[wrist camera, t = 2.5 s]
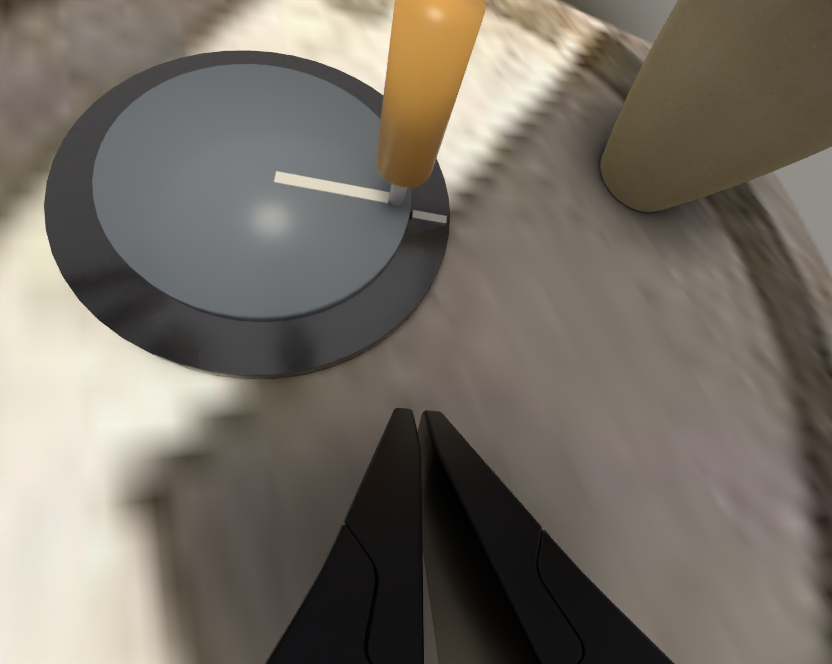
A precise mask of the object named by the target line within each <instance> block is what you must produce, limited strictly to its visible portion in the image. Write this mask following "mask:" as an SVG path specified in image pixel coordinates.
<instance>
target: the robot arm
mask: <svg viewBox="0 0 832 664" xmlns="http://www.w3.org/2000/svg"><path fill="white" fill-rule="evenodd" d="M422 547H423V555H424V562H425V569H426V576H427V583H428V590H429V597H430V604H431V611H432V618H433V625H434V632H435V639H436V646H437V654H438V661H439V664H674V663H673V662H672V661H671V660H670V659H669V658H668V657H667V656H666V655H665V654H664V653H663V652H662V651H661V650H660V649H659V648H658V647H657V646H656V645H655V644H654V643H653V642H652V641H651V640H650V639H649V638H648V637H647V636H646V635H645V634H644V633H643V632H642V631H641V630H640V629H639V628H638V627H637V626H636V625H635V624H634V623H633V622H632V621H631V620H630V619H629V618H628V617H627V616H626V615H625V614H624V613H623V612H622V611H621V610H620V609H618V608H617V607H616V606H615V605H614V604H613V603H612V602H611V601H610V600H609V599H608V598H607V597H606V595H605V594H604V593H603V592H602V591H601V590H600V589H599V588H598V587H597V586H596V585H595V584H594V583H593V582H592V581H591V580H590V579H589V578H588V577H587V576H586V575H585V574H584V573H583V572H582V571H581V570H580V569H579V568H578V567H577V565H576V564H575V563H574V562H573V561H572V560H571V559H570V558H569V557H568V556H567V554H566V553H565V552H564V551H563V550H562V549H561V548H560V547H559V546H558V545H557V543H556V542H555V541H554V540H553V539H552V538H551V537H550V535H549V534H548V533H547V532H546V531H545V530H542V527H541V525H540V524H539V523H538V522H537V521H536V520H535V519H534V517H533V516H532V515H531V514H530V513H529V512H528V511H527V509H526V508H525V507H524V506H523V505H522V504H521V503H520V501H519V500H518V499H517V498H516V497H515V496H514V495H513V493H512V492H511V491H510V490H509V489H508V488H507V487H506V485H505V484H504V483H503V482H502V481H501V480H500V479H499V478H498V476H497V475H496V474H495V473H494V472H493V471H492V470H491V468H490V467H489V466H488V465H487V464H486V463H485V462H484V460H483V459H482V458H481V457H480V456H479V455H478V454H477V452H476V451H475V450H474V449H473V448H472V447H471V446H470V444H469V443H468V442H467V441H466V440H465V439H464V438H463V436H462V435H461V434H460V433H459V432H458V431H457V430H456V428H455V427H454V426H453V425H452V424H451V423H450V422H449V421H448V419H447V418H446V417H445V416H444V415H443V414H442V413H441V412H439V411H428V410H426V411H424V412H423V413H422V416H421V420H420V424H419V428H418V432H417V428H416V424H415V419H414V415H413V411H412V410H411V409H404V408H395V409H394V411H393V413H392V416H391V418H390V420H389V422H388V424H387V427H386V429H385V431H384V433H383V435H382V438H381V440H380V442H379V444H378V446H377V449H376V451H375V453H374V455H373V457H372V460H371V462H370V464H369V466H368V468H367V471H366V473H365V475H364V477H363V479H362V482H361V484H360V486H359V488H358V490H357V493H356V495H355V497H354V499H353V501H352V504H351V506H350V508H349V510H348V512H347V515H346V517H345V519H344V521H343V525H342V526H341V527H340V529H339V532H338V534H337V536H336V538H335V541H334V543H333V545H332V547H331V549H330V551H329V553H328V555H327V557H326V559H325V561H324V563H323V565H322V567H321V569H320V571H319V573H318V575H317V576H316V578H315V580H314V582H313V583H312V585H311V587H310V589H309V590H308V592H307V594H306V596H305V597H304V599H303V601H302V603H301V604H300V606H299V608H298V610H297V611H296V613H295V614H294V616H293V618H292V619H291V621H290V623H289V624H288V626H287V628H286V629H285V631H284V632H283V634H282V636H281V637H280V639H279V641H278V642H277V644H276V645H275V647H274V649H273V650H272V652H271V654H270V655H269V657H268V659H267V660H266V662H265V663H264V664H424V636H423V560H422Z"/></svg>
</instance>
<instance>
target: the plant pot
mask: <svg viewBox="0 0 832 664" xmlns="http://www.w3.org/2000/svg"><path fill="white" fill-rule="evenodd" d="M829 147H832V0H678V1H677V3H676V4H675V6H674V8H673V10H672V12H671V13H670V15H669V17H668V19H667V21H666V23H665V24H664V26H663V28H662V30H661V31H660V33H659V35H658V37H657V39H656V40H655V42H654V44H653V46H652V48H651V50H650V52H649V54H648V56H647V58H646V59H645V61H644V63H643V65H642V67H641V69H640V71H639V73H638V75H637V77H636V79H635V81H634V83H633V85H632V87H631V89H630V92H629V94H628V96H627V98H626V100H625V102H624V105H623V107H622V109H621V111H620V113H619V116H618V118H617V120H616V123H615V125H614V127H613V130H612V132H611V135H610V137H609V140H608V142H607V145H606V147H605V150H604V153H603V155H602V158H601V162H600V170H601V175H602V178H603V180H604V183H605V184H606V186H607V188H608V189H609V191H610V192H611V193H612V194H613V195H614V196H615V197H616V198H617V199H618V200H619V201H620V202H622V203H623V204H625V205H626V206H628V207H630V208H632V209H635V210H638V211H642V212H656V211H660V210H663V209H667V208H670V207H674V206H677V205H680V204H683V203H687V202H690V201H693V200H696V199H699V198H702V197H705V196H708V195H711V194H714V193H717V192H720V191H723V190H725V189H728V188H731V187H734V186H736V185H739V184H742V183H744V182H747V181H750V180H752V179H755V178H757V177H760V176H762V175H765V174H768V173H770V172H773V171H775V170H778V169H780V168H782V167H785V166H787V165H789V164H792V163H795V162H797V161H799V160H802V159H804V158H807V157H809V156H811V155H813V154H816V153H818V152H820V151H823V150H825V149H827V148H829Z"/></svg>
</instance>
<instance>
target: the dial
mask: <svg viewBox="0 0 832 664" xmlns="http://www.w3.org/2000/svg"><path fill="white" fill-rule="evenodd" d="M484 14H485V2H484V0H395V5H394V13H393V22H392V30H391V38H390V47H389V55H388V63H387V72H386V80H385V88H384V96H383V105H382V113H381V119H380V118H379V117H378V116H377V115H376V114H375V113H374V112H373V111H372V110H371V109H370V108H368V107H367V106H366V105H365V104H363V103H362V102H361V101H359V100H358V99H357V98H356V97H354V96H352V95H351V94H349V93H348V92H346V91H345V90H343V89H341V88H339V87H337V86H335V85H333V84H331V83H329V82H327V81H325V80H323V79H320V78H318V77H315V76H312V75H310V74H306V73H303V72H299V71H296V70H292V69H287V68H282V67H277V66H269V65H258V64H233V65H222V66H214V67H209V68H204V69H199V70H195V71H192V72H189V73H185V74H182V75H179V76H177V77H175V78H172V79H170V80H167V81H165V82H163V83H161V84H159V85H158V86H156V87H154V88H152V89H151V90H149V91H147V92H146V93H144V94H143V95H142V96H140V97H139V98H138V99H136V100H135V101H134V102H132V103H131V104H130V105H129V106H128V107H127V108H126V109H125V110H124V111H123V112H122V113H121V114H120V115H119V116H118V118H117V119H116V120H115V122H114V123H113V124H112V126H111V127H110V128H109V130H108V132H107V133H106V135H105V137H104V139H103V141H102V143H101V145H100V148H99V151H98V154H97V157H96V160H95V164H94V171H93V179H92V184H93V200H94V204H95V208H96V212H97V217H98V219H99V221H100V223H101V226H102V228H103V230H104V233H105V235H106V236H107V238H108V239H109V241H110V243H111V244H112V246H113V247H114V249H115V250H116V252H117V253H118V254H119V255H120V256H121V257H122V258H123V259H124V261H125V262H126V263H127V264H128V265H129V266H130V267H131V268H132V269H133V270H135V271H136V272H137V273H138V274H139V275H141V276H142V277H143V278H144V279H145V280H147V281H148V282H149V283H150V284H152V285H153V286H154V287H155V288H157V289H158V290H159V291H161V292H162V293H164V294H166V295H167V296H169V297H170V298H172V299H174V300H175V301H177V302H179V303H181V304H184V305H186V306H188V307H190V308H193V309H195V310H197V311H200V312H204V313H207V314H210V315H213V316H217V317H221V318H227V319H232V320H238V321H250V322H275V321H287V320H292V319H298V318H304V317H308V316H311V315H314V314H318V313H321V312H324V311H327V310H329V309H331V308H333V307H336V306H338V305H340V304H343V303H344V302H346V301H348V300H349V299H351V298H353V297H354V296H356V295H358V294H359V293H360V292H362V291H363V290H364V289H365V288H367V287H368V286H369V285H370V284H372V283H373V282H374V281H375V280H376V279H377V278H378V277H379V276H380V274H381V273H382V272H383V271H384V270H385V269H386V268H387V266H388V265H389V263H390V262H391V260H392V259H393V258H394V256H395V254H396V252H397V250H398V248H399V246H400V244H401V242H402V239H403V235H404V232H405V229H406V226H407V223H408V219H409V214H410V208H411V187H417V186H420V185H422V184H423V183H425V182H426V181H427V180H428V179H429V177H430V175H431V173H432V170H433V167H434V164H435V161H436V158H437V155H438V152H439V149H440V146H441V143H442V140H443V137H444V134H445V131H446V128H447V125H448V122H449V119H450V116H451V113H452V110H453V107H454V104H455V101H456V98H457V95H458V92H459V89H460V86H461V83H462V80H463V77H464V74H465V71H466V68H467V65H468V62H469V59H470V56H471V53H472V50H473V47H474V44H475V41H476V38H477V35H478V32H479V29H480V26H481V23H482V20H483V17H484Z"/></svg>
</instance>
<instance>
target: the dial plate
mask: <svg viewBox="0 0 832 664" xmlns="http://www.w3.org/2000/svg"><path fill="white" fill-rule="evenodd" d="M233 64H258V65H269V66H277V67H282V68H287V69H292V70H296V71H299V72H303V73H306V74H310V75H312V76H315V77H318V78H320V79H323V80H325V81H327V82H329V83H331V84H333V85H335V86H337V87H339V88H341V89H343V90H345V91H346V92H348V93H349V94H351V95H352V96H354V97H356V98H357V99H358V100H359V101H361V102H362V103H363V104H365V105H366V106H367V107H368V108H370V109H371V110H372V111H373V112H374V113H375V114H376V115H377V116H378V117H379V118H380V119H381V113H382V105H383V95H382V94H380V93H379V92H378V91H376V90H375V89H373V88H372V87H370V86H368V85H367V84H365V83H363V82H362V81H360V80H358V79H356V78H355V77H352V76H350V75H348V74H346V73H344V72H342V71H340V70H337V69H335V68H332V67H330V66H327V65H324V64H321V63H318V62H316V61H312V60H308V59H304V58H300V57H296V56H292V55H286V54H279V53H273V52H262V51H220V52H212V53H203V54H198V55H193V56H188V57H183V58H179V59H175V60H172V61H169V62H166V63H163V64H160V65H157V66H154V67H152V68H150V69H148V70H145V71H143V72H141V73H139V74H136V75H134V76H132V77H131V78H129V79H127V80H126V81H124V82H122V83H121V84H119V85H117V86H115V87H114V88H112V89H111V90H110V91H109V92H107V93H106V94H105V95H103V96H102V97H101V98H99V99H98V100H97V101H96V102H94V103H93V104H92V105H91V106H90V108H89V109H88V110H87V111H86V112H85V113H84V114H83V115H82V116H81V117H80V118H79V119H78V120H77V121H76V123H75V124H74V125H73V127H72V128H71V130H70V131H69V132H68V134H67V135H66V137H65V138H64V140H63V142H62V144H61V146H60V148H59V150H58V152H57V154H56V156H55V158H54V160H53V163H52V166H51V170H50V173H49V176H48V180H47V185H46V194H45V202H44V210H45V224H46V232H47V236H48V240H49V243H50V247H51V251H52V254H53V256H54V259H55V261H56V263H57V265H58V267H59V269H60V271H61V274H62V276H63V278H64V279H65V281H66V282H67V283H68V285H69V286H70V288H71V289H72V291H73V292H74V293H75V295H76V296H77V298H78V299H79V300H80V301H81V302H82V303H83V304H84V305H85V306H86V307H87V309H88V310H89V311H90V312H91V313H92V314H93V315H94V316H95V317H96V318H97V319H98V320H99V321H101V322H102V323H103V324H105V325H106V326H107V327H109V328H110V329H111V330H113V331H114V332H115V333H117V334H118V335H119V336H121V337H122V338H124V339H125V340H127V341H129V342H131V343H133V344H135V345H136V346H138V347H140V348H142V349H144V350H146V351H147V352H149V353H151V354H154V355H156V356H158V357H160V358H162V359H165V360H168V361H170V362H173V363H175V364H178V365H181V366H183V367H186V368H189V369H192V370H196V371H200V372H205V373H209V374H213V375H217V376H225V377H234V378H243V379H275V378H283V377H290V376H298V375H304V374H308V373H312V372H315V371H319V370H323V369H327V368H330V367H333V366H335V365H338V364H340V363H343V362H345V361H348V360H350V359H353V358H354V357H356V356H358V355H360V354H362V353H363V352H365V351H367V350H369V349H371V348H372V347H374V346H376V345H377V344H378V343H380V342H381V341H382V340H384V339H385V338H386V337H388V336H389V335H390V334H392V333H393V332H394V331H395V330H396V329H397V328H398V327H399V326H400V325H401V324H402V323H403V322H404V321H405V320H406V319H407V318H408V317H409V316H410V315H411V314H412V312H413V311H414V310H415V309H416V307H417V306H418V305H419V303H420V302H421V301H422V299H423V297H424V296H425V294H426V292H427V290H428V289H429V287H430V285H431V283H432V282H433V280H434V278H435V276H436V274H437V272H438V270H439V267H440V265H441V262H442V259H443V257H444V254H445V250H446V245H447V240H448V236H449V223H450V210H449V198H448V193H447V189H446V184H445V180H444V177H443V174H442V171H441V169H440V166H439V163H438V161H437V159H436V161H435V164H434V167H433V170H432V173H431V175H430V177H429V179H428V180H427V181H426V182H425V183H423V184H422V185H420V186H417V187H411V208H410V214H409V219H408V223H407V226H406V229H405V232H404V235H403V239H402V242H401V244H400V246H399V248H398V250H397V252H396V254H395V256H394V258H393V259H392V260H391V262H390V263H389V265H388V266H387V268H386V269H385V270H384V271H383V272H382V273H381V274H380V276H379V277H378V278H377V279H376V280H375V281H374V282H373V283H372V284H370V285H369V286H368V287H367V288H365V289H364V290H363V291H362V292H360V293H359V294H358V295H356V296H354V297H353V298H351V299H349V300H348V301H346V302H344V303H343V304H340V305H338V306H336V307H333V308H331V309H329V310H327V311H324V312H321V313H318V314H314V315H311V316H308V317H304V318H298V319H292V320H287V321H275V322H250V321H238V320H232V319H227V318H221V317H217V316H213V315H210V314H207V313H204V312H200V311H197V310H195V309H193V308H190V307H188V306H186V305H184V304H181V303H179V302H177V301H175V300H174V299H172V298H170V297H169V296H167V295H166V294H164V293H162V292H161V291H159V290H158V289H157V288H155V287H154V286H153V285H152V284H150V283H149V282H148V281H147V280H145V279H144V278H143V277H142V276H141V275H139V274H138V273H137V272H136V271H135V270H133V269H132V268H131V267H130V266H129V265H128V264H127V263H126V262H125V261H124V259H123V258H122V257H121V256H120V255H119V254H118V253H117V252H116V250H115V249H114V247H113V246H112V244H111V243H110V241H109V239H108V238H107V236H106V235H105V233H104V230H103V228H102V226H101V223H100V221H99V219H98V217H97V212H96V208H95V204H94V200H93V184H92V179H93V171H94V164H95V160H96V157H97V154H98V151H99V148H100V145H101V143H102V141H103V139H104V137H105V135H106V133H107V132H108V130H109V128H110V127H111V126H112V124H113V123H114V122H115V120H116V119H117V118H118V116H119V115H120V114H121V113H122V112H123V111H124V110H125V109H126V108H127V107H128V106H129V105H130V104H131V103H132V102H134V101H135V100H136V99H138V98H139V97H140V96H142V95H143V94H144V93H146V92H147V91H149V90H151V89H152V88H154V87H156V86H158V85H159V84H161V83H163V82H165V81H167V80H170V79H172V78H175V77H177V76H179V75H182V74H185V73H189V72H192V71H195V70H199V69H204V68H209V67H214V66H222V65H233Z"/></svg>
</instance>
